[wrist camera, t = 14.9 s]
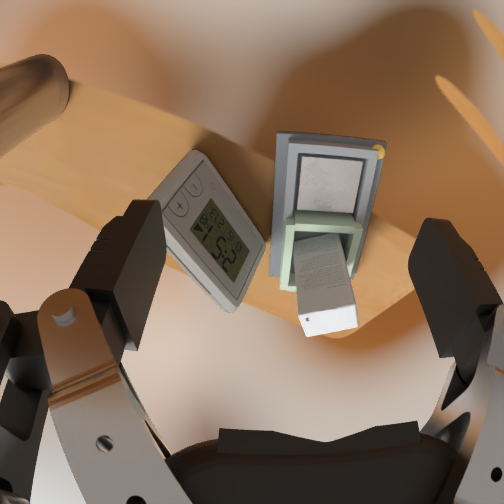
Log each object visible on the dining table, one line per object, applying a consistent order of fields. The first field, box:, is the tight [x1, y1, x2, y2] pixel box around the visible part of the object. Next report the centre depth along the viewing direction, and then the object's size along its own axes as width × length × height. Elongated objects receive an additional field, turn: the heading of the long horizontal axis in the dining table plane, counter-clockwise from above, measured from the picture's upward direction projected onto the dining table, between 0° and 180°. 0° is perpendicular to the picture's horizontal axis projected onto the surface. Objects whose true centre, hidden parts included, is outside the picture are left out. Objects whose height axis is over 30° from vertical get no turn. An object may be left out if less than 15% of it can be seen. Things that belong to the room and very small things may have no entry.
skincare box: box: [293, 233, 358, 337], centre depth 37 cm, size 6×4×12 cm
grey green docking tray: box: [269, 131, 387, 292], centre depth 38 cm, size 12×21×3 cm, turn 179°
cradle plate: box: [297, 154, 363, 213], centre depth 35 cm, size 7×7×1 cm
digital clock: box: [147, 150, 266, 313], centre depth 35 cm, size 16×9×11 cm, turn 18°
